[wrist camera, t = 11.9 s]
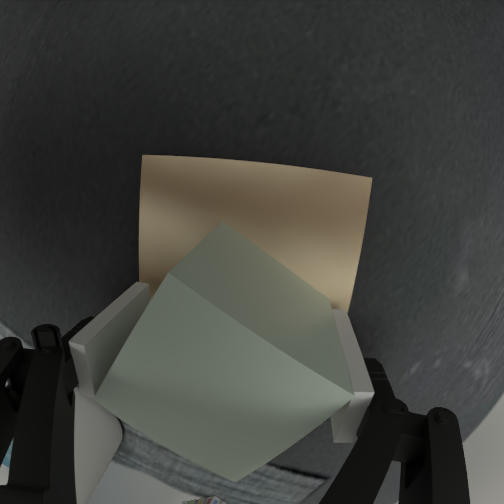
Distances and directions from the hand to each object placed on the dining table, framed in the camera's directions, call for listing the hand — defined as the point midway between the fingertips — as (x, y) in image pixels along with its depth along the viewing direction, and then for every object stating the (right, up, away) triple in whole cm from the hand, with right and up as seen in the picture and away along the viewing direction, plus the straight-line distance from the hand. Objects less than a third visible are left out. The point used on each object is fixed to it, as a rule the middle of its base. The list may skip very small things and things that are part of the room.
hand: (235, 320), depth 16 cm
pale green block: (0, 0, +1) cm, 1 cm away
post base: (0, +1, +2) cm, 2 cm away
